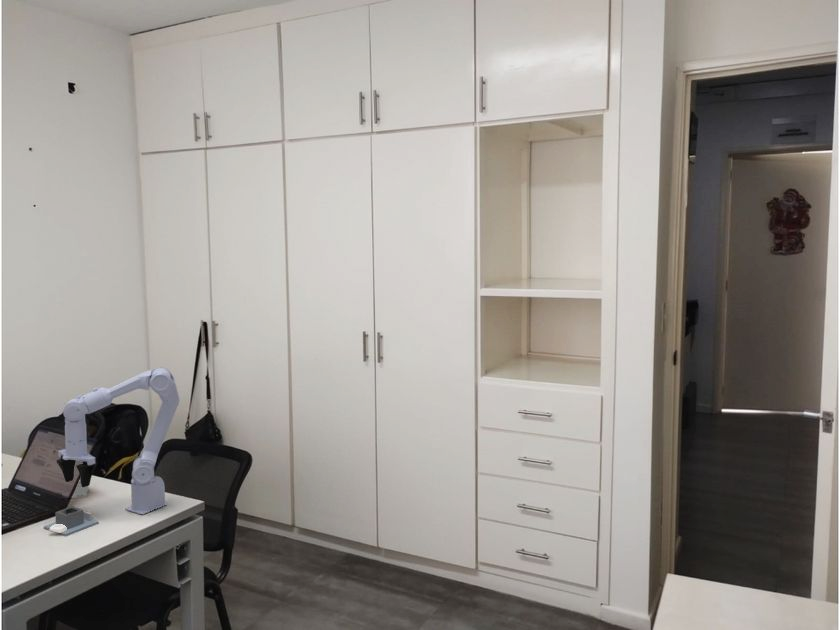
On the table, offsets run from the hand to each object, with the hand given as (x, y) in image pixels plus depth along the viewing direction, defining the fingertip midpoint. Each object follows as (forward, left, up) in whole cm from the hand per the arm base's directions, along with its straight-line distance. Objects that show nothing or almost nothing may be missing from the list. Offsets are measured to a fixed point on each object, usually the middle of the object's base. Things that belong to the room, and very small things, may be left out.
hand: (77, 483), depth 209 cm
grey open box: (+6, +5, -9) cm, 12 cm away
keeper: (+6, +5, -10) cm, 12 cm away
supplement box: (-10, -16, -10) cm, 21 cm away
